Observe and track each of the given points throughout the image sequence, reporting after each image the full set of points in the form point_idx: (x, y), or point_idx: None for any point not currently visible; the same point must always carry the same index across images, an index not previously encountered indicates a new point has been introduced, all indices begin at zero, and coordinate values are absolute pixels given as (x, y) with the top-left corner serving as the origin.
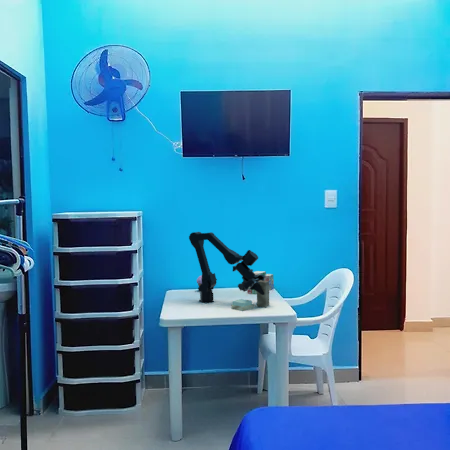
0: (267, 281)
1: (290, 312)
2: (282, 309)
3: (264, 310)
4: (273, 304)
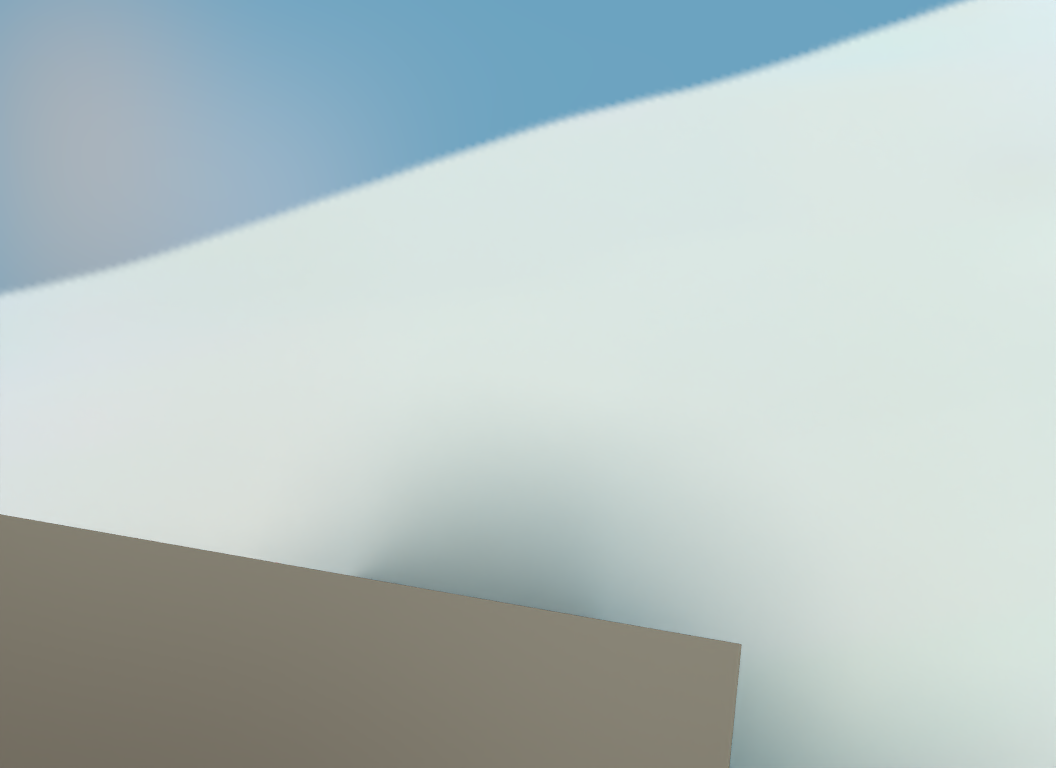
0: (97, 548)
1: (982, 5)
2: (745, 195)
3: (974, 602)
4: (233, 486)
